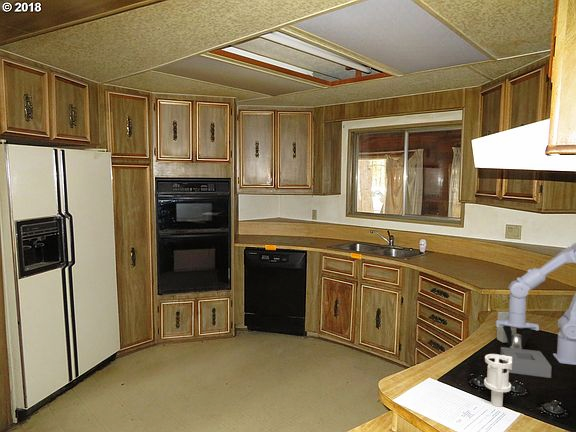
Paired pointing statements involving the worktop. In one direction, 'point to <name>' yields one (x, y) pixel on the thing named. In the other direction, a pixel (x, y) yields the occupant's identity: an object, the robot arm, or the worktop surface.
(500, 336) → the skincare box
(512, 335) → the peg
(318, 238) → the worktop surface
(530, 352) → the socket block
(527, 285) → the robot arm
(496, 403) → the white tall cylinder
